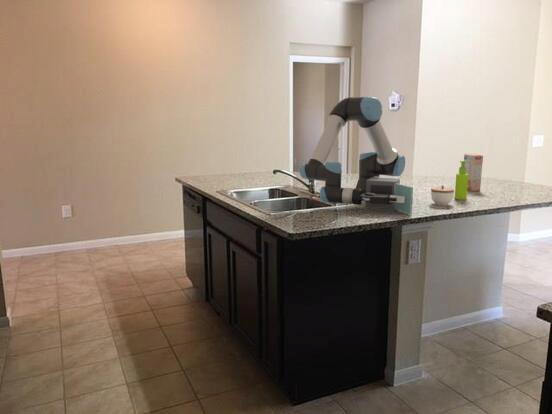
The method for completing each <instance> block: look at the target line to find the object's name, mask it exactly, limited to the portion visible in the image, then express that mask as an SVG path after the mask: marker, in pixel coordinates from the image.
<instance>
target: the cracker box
mask: <svg viewBox="0 0 552 414" xmlns="http://www.w3.org/2000/svg"><path fill="white" fill-rule="evenodd" d="M483 159H484V156H483V155H482V154H481V155H480V154H475V153H464V155H463V161H469V162H471V163H468V162H465V167H466V174H468V184H467V191H470V192H481V183H482V170H483V163H484V160H483Z"/></svg>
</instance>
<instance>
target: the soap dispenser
mask: <svg viewBox="0 0 552 414" xmlns="http://www.w3.org/2000/svg"><path fill="white" fill-rule="evenodd" d="M459 162H460V166H459V167H458V168H459V169H458V173H456V175H455V176H456V177H455V186H454V187H455V188H454V199H455V200H467V195H468V190H467V184H468V174H466V167H465V162H468V163H471V162H469V161H464V160H460V161H459Z"/></svg>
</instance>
